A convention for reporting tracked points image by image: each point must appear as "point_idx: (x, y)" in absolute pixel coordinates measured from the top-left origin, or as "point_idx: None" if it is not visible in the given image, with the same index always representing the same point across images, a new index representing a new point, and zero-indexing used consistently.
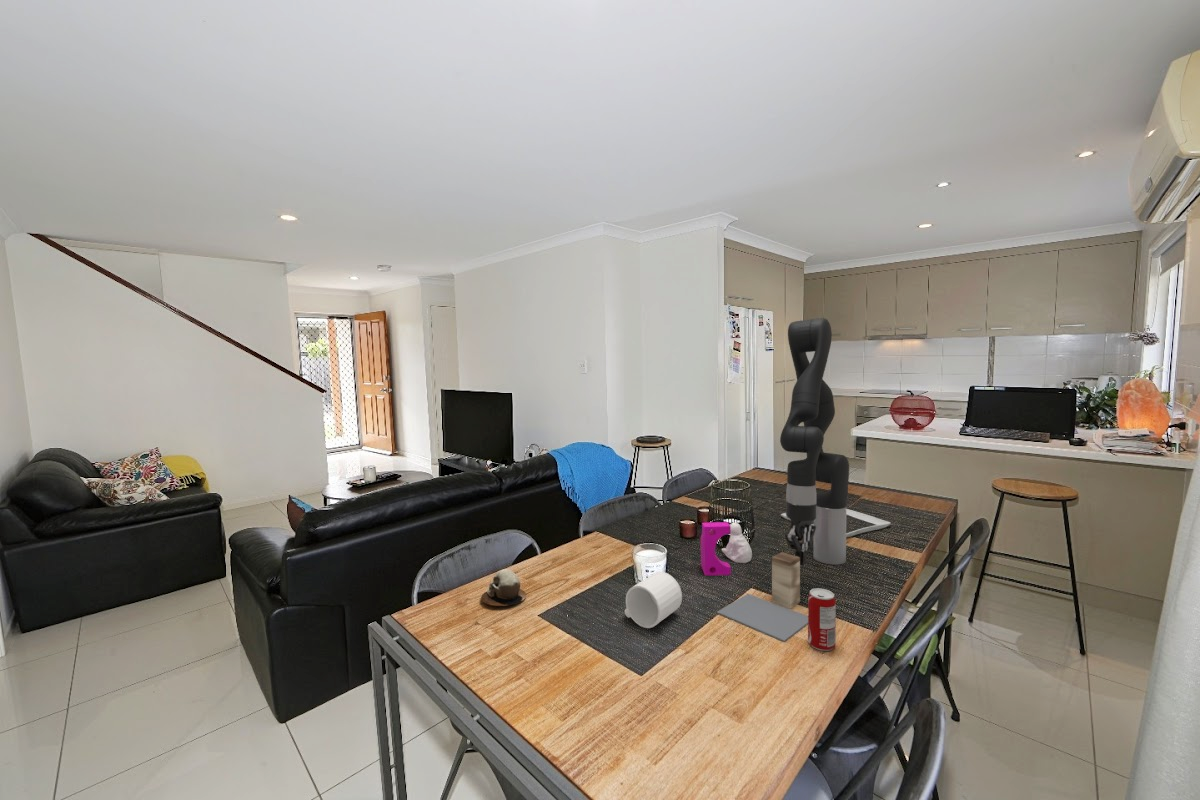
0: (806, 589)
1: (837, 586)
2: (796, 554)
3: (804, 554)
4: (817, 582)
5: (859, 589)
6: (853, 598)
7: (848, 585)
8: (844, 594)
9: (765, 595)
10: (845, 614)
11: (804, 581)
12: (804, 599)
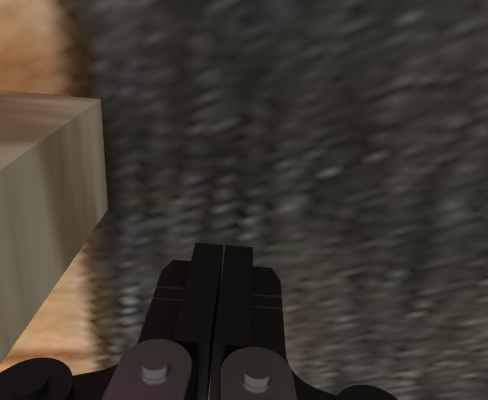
0: (294, 179)
1: (440, 289)
2: (148, 326)
3: (208, 388)
4: (439, 194)
5: (459, 368)
6: (335, 370)
7: (485, 324)
8: (356, 335)
9: (19, 8)
10: None
11: (410, 127)
12: (158, 215)
